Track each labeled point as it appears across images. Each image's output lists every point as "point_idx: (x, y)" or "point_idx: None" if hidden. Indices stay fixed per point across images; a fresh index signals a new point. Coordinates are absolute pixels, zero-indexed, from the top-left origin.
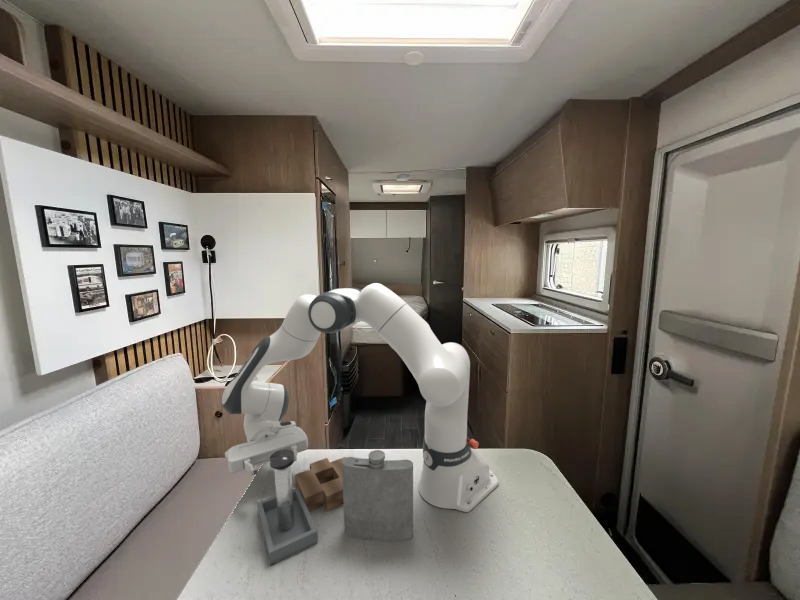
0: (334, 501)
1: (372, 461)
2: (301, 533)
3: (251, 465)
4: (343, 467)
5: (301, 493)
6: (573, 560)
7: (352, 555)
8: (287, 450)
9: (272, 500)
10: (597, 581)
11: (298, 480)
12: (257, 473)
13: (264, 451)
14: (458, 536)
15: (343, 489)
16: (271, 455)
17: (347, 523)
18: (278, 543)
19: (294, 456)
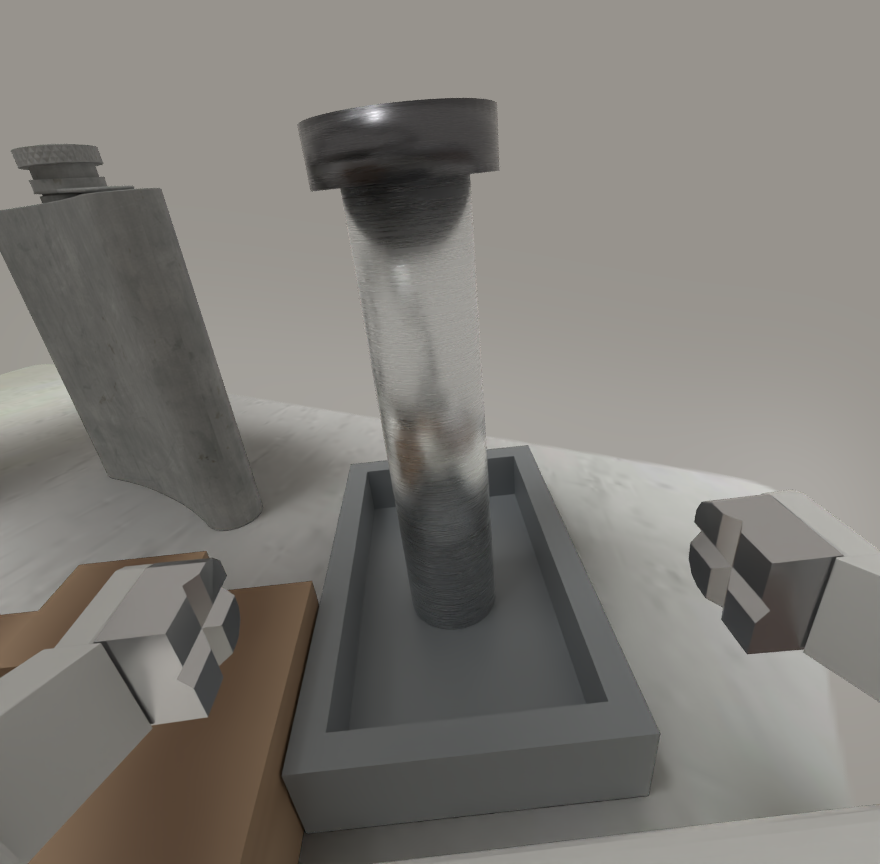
0: None
1: (100, 158)
2: (400, 538)
3: (854, 547)
4: (165, 205)
5: (299, 679)
6: (19, 387)
7: (295, 460)
8: (331, 116)
9: (524, 714)
10: (49, 373)
11: (241, 806)
12: (695, 568)
13: (744, 832)
14: (62, 439)
15: (203, 329)
16: (480, 99)
17: (247, 458)
18: (497, 529)
19: (158, 567)
